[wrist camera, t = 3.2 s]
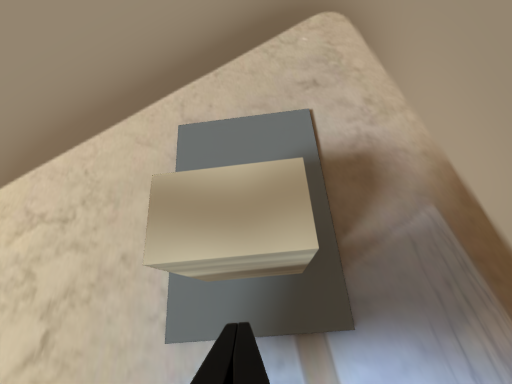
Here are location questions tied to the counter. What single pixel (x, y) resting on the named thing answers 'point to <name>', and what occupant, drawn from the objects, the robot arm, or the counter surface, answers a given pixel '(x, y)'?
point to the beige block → (231, 221)
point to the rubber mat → (269, 287)
